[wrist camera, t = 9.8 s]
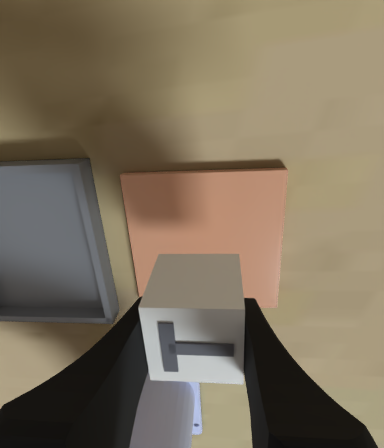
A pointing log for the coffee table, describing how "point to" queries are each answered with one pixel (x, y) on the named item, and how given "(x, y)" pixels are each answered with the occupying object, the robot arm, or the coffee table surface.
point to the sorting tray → (53, 245)
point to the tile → (210, 221)
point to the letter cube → (194, 319)
